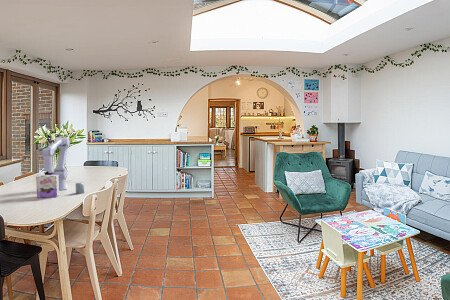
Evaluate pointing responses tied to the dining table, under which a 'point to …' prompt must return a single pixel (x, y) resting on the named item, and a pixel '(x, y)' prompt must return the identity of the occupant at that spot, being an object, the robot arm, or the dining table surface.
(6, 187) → the dining table surface
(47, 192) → the candy box
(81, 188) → the rounded blue cylinder
